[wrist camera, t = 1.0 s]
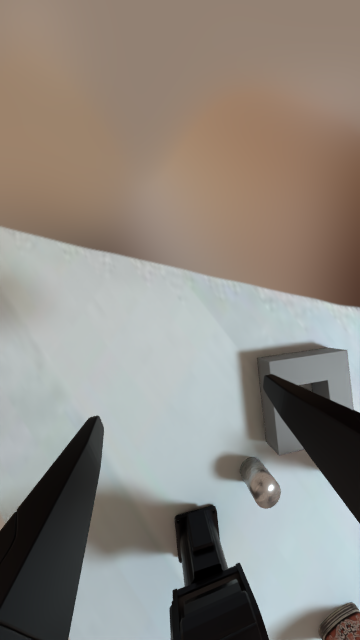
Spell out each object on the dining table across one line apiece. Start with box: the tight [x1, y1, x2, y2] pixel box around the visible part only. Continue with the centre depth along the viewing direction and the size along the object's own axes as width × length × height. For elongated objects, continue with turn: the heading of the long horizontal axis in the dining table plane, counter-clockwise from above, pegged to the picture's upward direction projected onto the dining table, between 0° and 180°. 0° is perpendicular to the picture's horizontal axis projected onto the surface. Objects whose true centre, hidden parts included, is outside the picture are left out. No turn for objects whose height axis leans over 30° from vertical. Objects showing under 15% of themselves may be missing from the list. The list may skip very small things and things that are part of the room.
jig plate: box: [257, 348, 354, 455], centre depth 28 cm, size 14×14×3 cm
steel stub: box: [240, 457, 281, 508], centre depth 26 cm, size 4×4×4 cm
